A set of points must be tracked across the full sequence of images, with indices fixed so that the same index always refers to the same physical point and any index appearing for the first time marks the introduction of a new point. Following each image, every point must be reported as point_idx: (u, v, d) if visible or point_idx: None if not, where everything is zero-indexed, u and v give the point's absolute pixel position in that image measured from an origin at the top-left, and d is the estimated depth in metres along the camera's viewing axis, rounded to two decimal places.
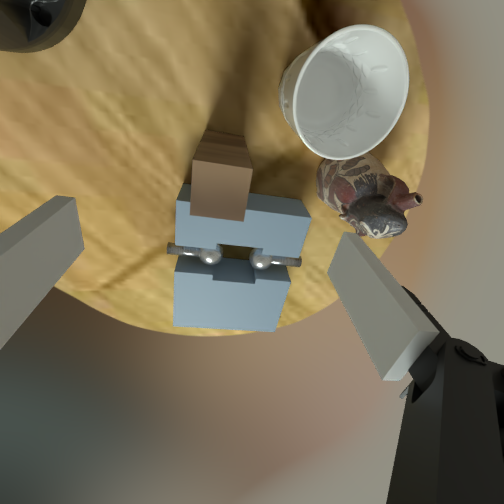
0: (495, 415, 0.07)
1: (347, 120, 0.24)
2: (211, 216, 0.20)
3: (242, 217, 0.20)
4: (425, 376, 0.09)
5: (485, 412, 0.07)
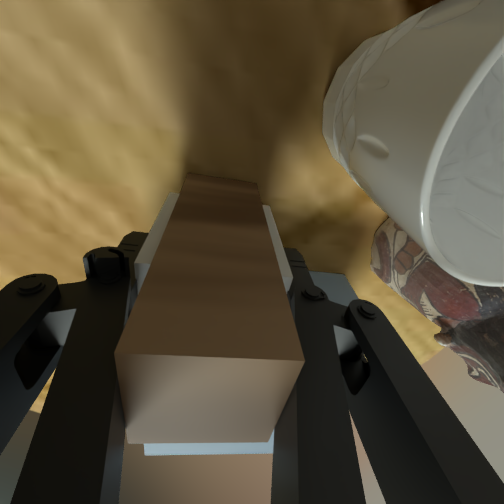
0: (334, 340, 0.08)
1: (466, 165, 0.12)
2: (186, 441, 0.08)
3: (265, 437, 0.08)
4: None
5: (327, 341, 0.08)
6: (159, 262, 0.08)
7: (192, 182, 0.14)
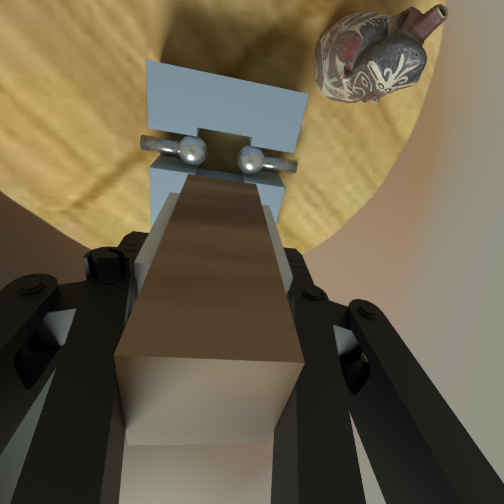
0: (334, 340, 0.08)
1: None
2: (186, 442, 0.08)
3: (265, 438, 0.08)
4: None
5: (327, 341, 0.08)
6: (159, 263, 0.08)
7: (192, 183, 0.14)
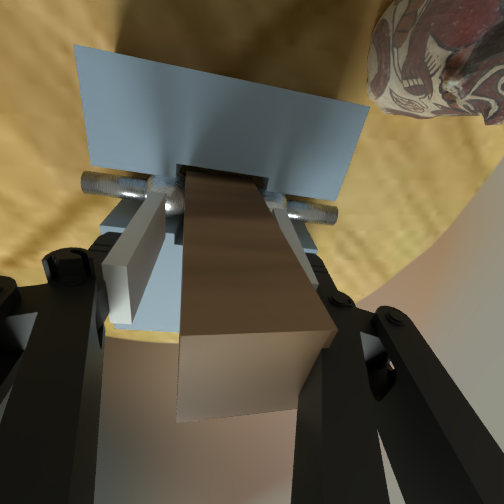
0: (361, 348, 0.08)
1: None
2: (227, 415, 0.08)
3: (296, 403, 0.09)
4: None
5: (354, 349, 0.07)
6: (190, 256, 0.09)
7: (193, 179, 0.15)
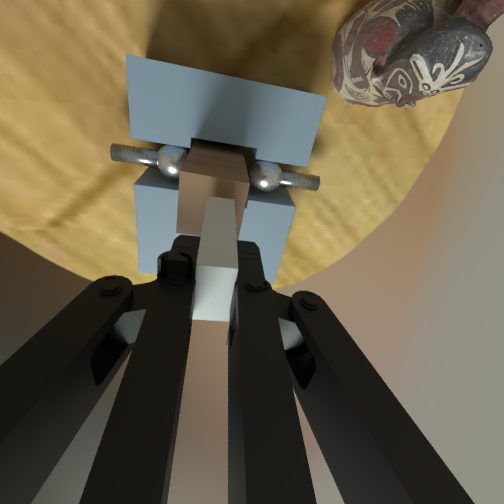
0: (279, 329, 0.08)
1: None
2: None
3: None
4: (234, 319, 0.09)
5: (272, 331, 0.07)
6: (190, 157, 0.17)
7: None
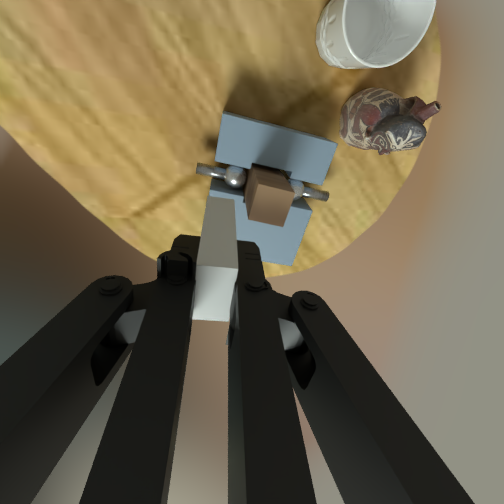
0: (279, 329, 0.08)
1: (376, 51, 0.28)
2: (262, 221, 0.29)
3: (282, 224, 0.29)
4: (234, 319, 0.09)
5: (272, 331, 0.07)
6: (257, 175, 0.29)
7: None
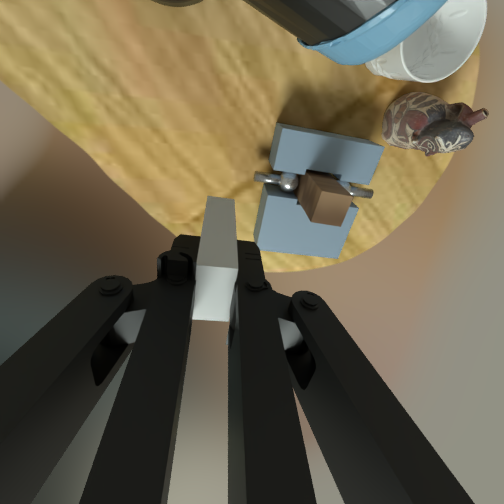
0: (279, 329, 0.08)
1: (422, 61, 0.31)
2: (323, 223, 0.33)
3: (340, 224, 0.33)
4: (234, 319, 0.09)
5: (272, 331, 0.07)
6: (316, 182, 0.33)
7: None
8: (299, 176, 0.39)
